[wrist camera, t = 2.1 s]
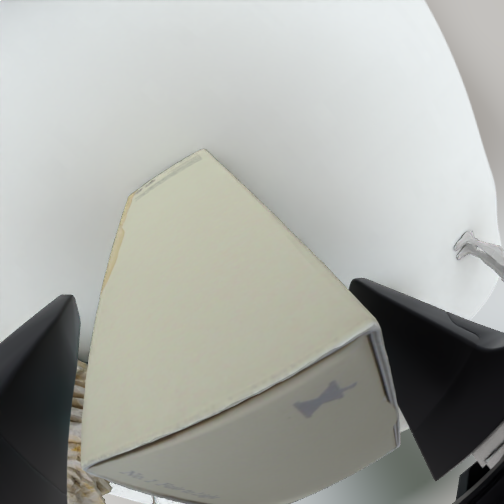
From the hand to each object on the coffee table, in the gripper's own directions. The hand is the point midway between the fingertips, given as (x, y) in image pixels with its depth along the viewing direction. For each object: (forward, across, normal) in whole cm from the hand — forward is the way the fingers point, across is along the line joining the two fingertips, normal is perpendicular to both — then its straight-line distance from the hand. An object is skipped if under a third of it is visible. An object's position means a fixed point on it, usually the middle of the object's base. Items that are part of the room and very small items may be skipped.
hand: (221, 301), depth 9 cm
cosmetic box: (+7, 0, 0) cm, 7 cm away
